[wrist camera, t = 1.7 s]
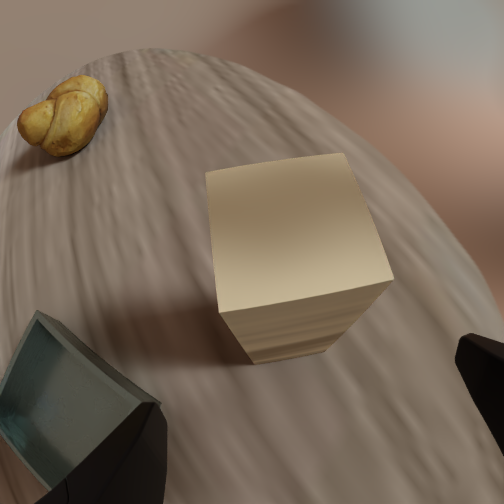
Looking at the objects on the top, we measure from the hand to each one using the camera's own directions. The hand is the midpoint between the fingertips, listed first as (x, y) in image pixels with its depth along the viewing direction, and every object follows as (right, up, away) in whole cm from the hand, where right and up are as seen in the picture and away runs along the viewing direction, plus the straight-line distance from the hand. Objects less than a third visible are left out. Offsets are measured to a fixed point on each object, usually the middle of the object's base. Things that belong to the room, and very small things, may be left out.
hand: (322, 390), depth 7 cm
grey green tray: (-15, -9, +10) cm, 20 cm away
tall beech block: (0, -1, +12) cm, 12 cm away
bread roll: (-23, +19, +25) cm, 39 cm away
